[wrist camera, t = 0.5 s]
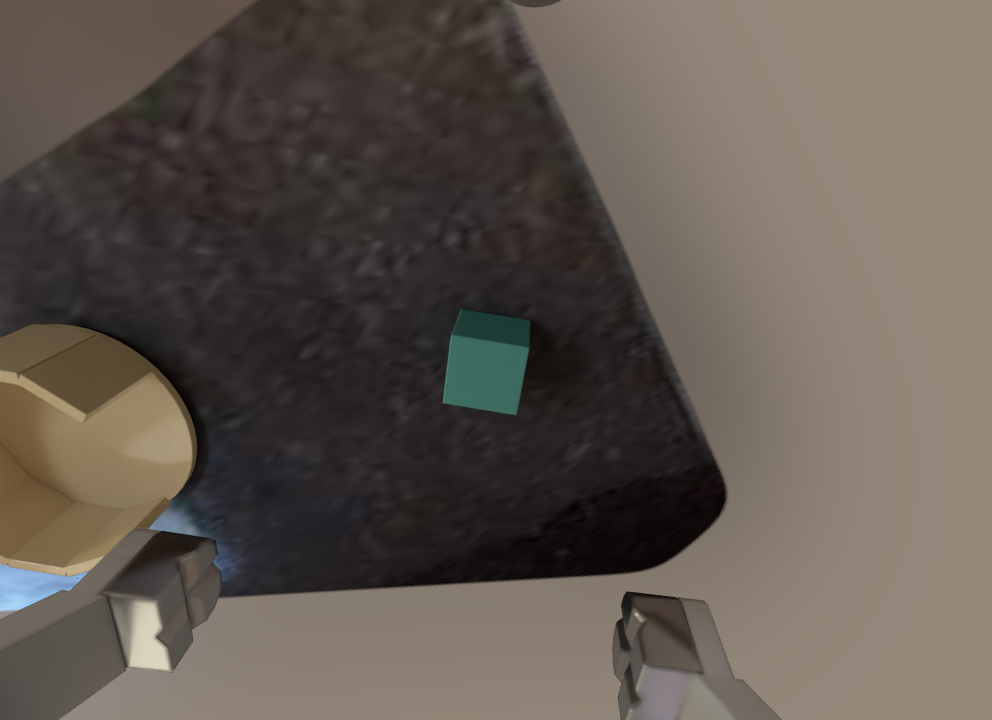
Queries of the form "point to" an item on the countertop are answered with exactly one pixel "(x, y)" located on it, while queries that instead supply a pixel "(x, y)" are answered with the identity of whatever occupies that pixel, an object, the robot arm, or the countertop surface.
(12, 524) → the tan scoop with handle
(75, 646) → the robot arm
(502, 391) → the block
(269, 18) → the countertop surface
